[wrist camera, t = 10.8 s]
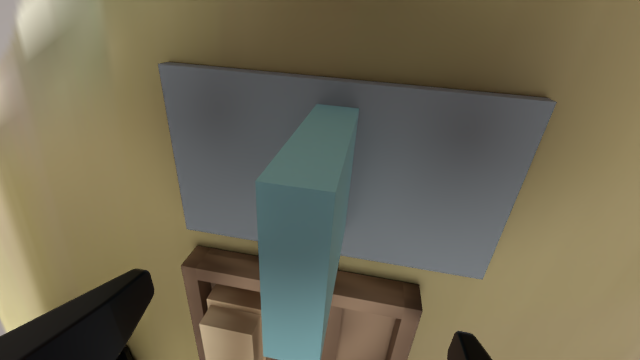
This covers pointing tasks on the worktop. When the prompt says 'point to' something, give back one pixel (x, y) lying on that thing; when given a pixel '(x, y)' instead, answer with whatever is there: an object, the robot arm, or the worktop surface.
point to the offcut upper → (231, 334)
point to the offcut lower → (236, 301)
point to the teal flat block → (303, 231)
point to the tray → (345, 312)
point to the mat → (360, 159)
